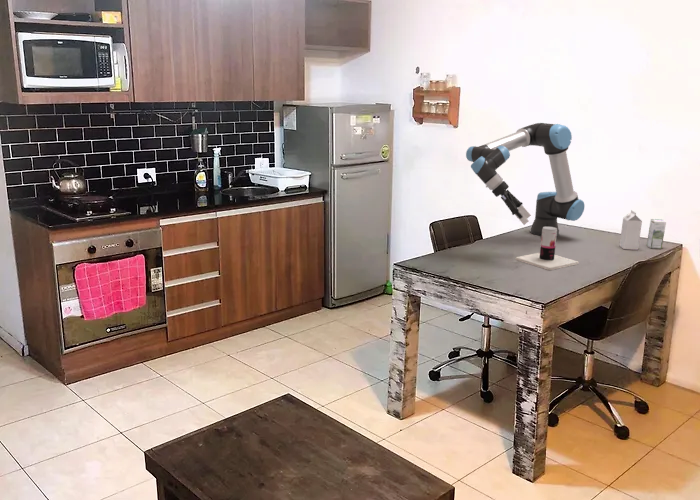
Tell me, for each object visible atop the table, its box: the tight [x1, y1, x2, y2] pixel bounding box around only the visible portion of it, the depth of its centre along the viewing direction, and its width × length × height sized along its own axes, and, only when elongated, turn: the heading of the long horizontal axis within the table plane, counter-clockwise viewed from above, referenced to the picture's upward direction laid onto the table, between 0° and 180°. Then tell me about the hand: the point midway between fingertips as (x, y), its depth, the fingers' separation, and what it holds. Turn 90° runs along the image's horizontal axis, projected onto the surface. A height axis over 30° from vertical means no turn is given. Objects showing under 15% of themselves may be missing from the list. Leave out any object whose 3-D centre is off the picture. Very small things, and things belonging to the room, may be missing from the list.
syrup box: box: [646, 218, 667, 250], centre depth 329 cm, size 6×6×14 cm
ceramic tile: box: [515, 252, 579, 271], centre depth 301 cm, size 20×20×1 cm
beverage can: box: [539, 227, 558, 261], centre depth 299 cm, size 6×7×15 cm
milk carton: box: [619, 209, 643, 251], centre depth 326 cm, size 7×7×19 cm
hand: (527, 220), depth 299 cm, fingers open, 13 cm apart
